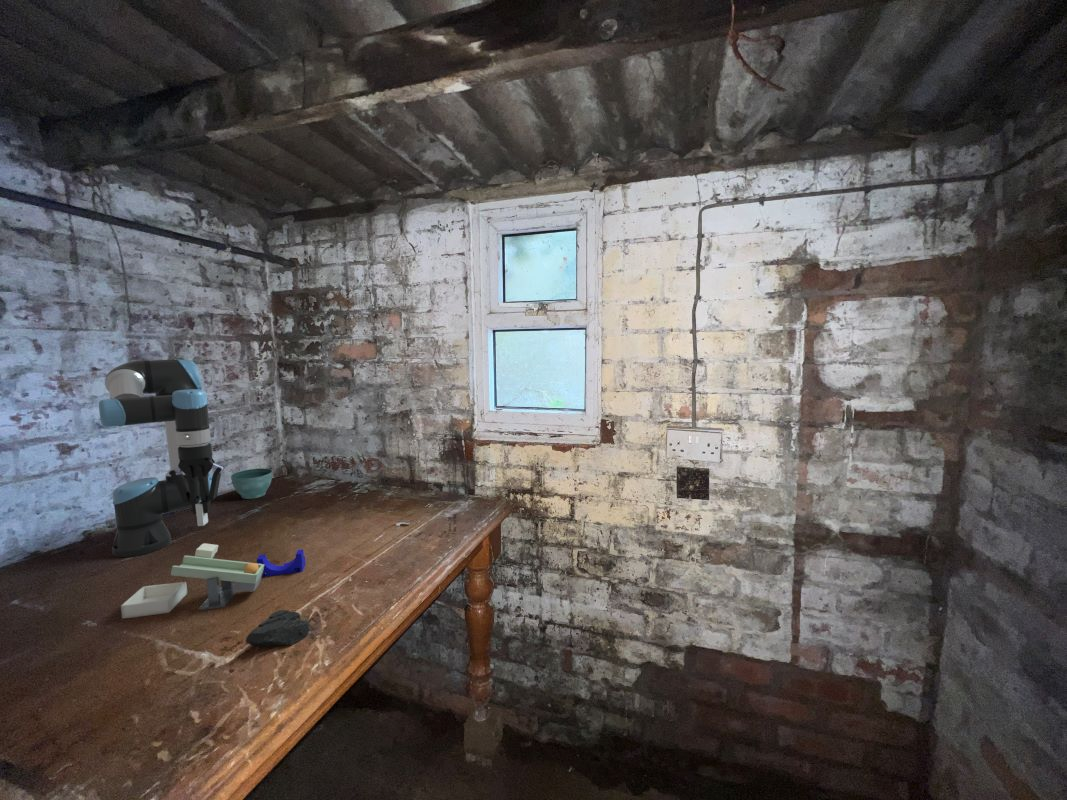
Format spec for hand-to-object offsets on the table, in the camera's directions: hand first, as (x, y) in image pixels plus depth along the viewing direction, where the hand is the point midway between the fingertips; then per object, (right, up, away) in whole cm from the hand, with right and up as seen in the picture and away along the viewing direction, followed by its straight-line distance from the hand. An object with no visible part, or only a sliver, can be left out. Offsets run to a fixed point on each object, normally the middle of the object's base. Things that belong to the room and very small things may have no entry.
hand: (202, 523), depth 124 cm
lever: (+7, -14, -2) cm, 16 cm away
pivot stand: (+9, -19, -5) cm, 22 cm away
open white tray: (-6, -20, -8) cm, 22 cm away
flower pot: (-35, -9, +76) cm, 84 cm away
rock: (+35, -22, -21) cm, 46 cm away
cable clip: (+18, -18, +9) cm, 27 cm away
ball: (+16, -12, -4) cm, 20 cm away
